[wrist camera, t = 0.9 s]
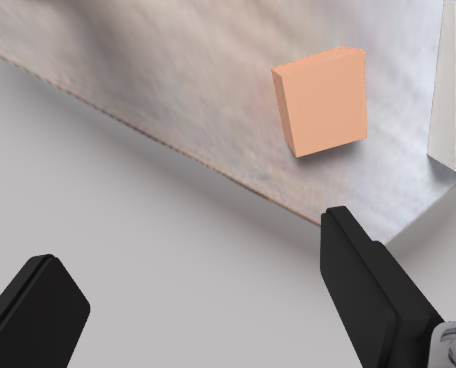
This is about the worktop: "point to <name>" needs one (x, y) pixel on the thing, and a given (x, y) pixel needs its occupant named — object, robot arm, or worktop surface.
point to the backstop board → (445, 93)
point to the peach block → (322, 99)
